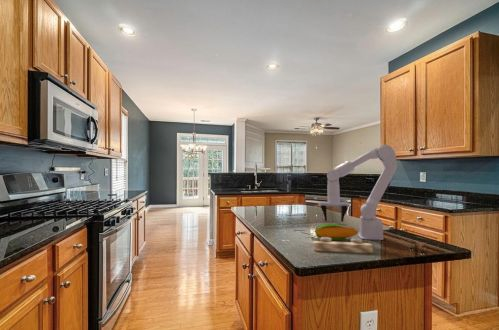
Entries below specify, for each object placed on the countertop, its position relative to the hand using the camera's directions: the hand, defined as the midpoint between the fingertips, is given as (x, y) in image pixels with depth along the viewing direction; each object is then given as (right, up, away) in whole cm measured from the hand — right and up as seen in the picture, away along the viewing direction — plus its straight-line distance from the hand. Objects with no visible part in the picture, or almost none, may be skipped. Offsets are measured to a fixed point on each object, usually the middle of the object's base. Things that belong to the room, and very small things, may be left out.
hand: (333, 221), depth 124 cm
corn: (-2, -7, -8) cm, 11 cm away
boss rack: (-5, -6, -23) cm, 24 cm away
